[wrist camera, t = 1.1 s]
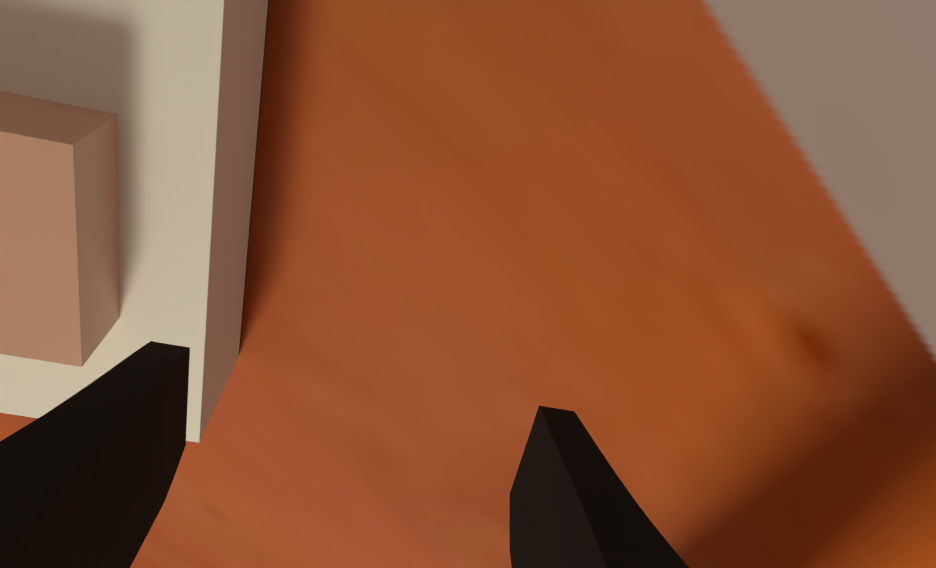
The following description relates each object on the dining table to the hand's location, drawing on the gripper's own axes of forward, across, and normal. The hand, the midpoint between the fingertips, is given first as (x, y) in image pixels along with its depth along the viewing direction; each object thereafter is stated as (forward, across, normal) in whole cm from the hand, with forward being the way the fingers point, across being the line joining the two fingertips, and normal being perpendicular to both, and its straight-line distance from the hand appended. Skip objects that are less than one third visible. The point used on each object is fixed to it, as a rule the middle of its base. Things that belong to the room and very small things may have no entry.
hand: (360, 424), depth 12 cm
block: (+5, +8, 0) cm, 10 cm away
